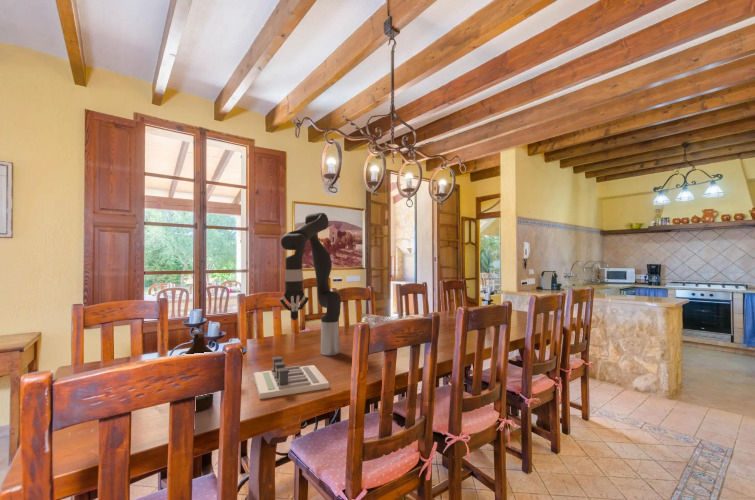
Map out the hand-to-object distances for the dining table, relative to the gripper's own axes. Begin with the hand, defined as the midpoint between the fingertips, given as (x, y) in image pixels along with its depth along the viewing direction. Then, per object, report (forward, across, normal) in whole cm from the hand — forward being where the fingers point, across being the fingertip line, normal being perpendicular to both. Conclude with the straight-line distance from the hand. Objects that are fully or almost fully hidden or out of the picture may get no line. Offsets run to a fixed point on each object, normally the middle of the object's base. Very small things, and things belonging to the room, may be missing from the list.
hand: (294, 319), depth 146 cm
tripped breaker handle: (+22, +8, +7) cm, 24 cm away
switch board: (+24, +4, +7) cm, 25 cm away
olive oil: (+24, +37, +16) cm, 47 cm away
